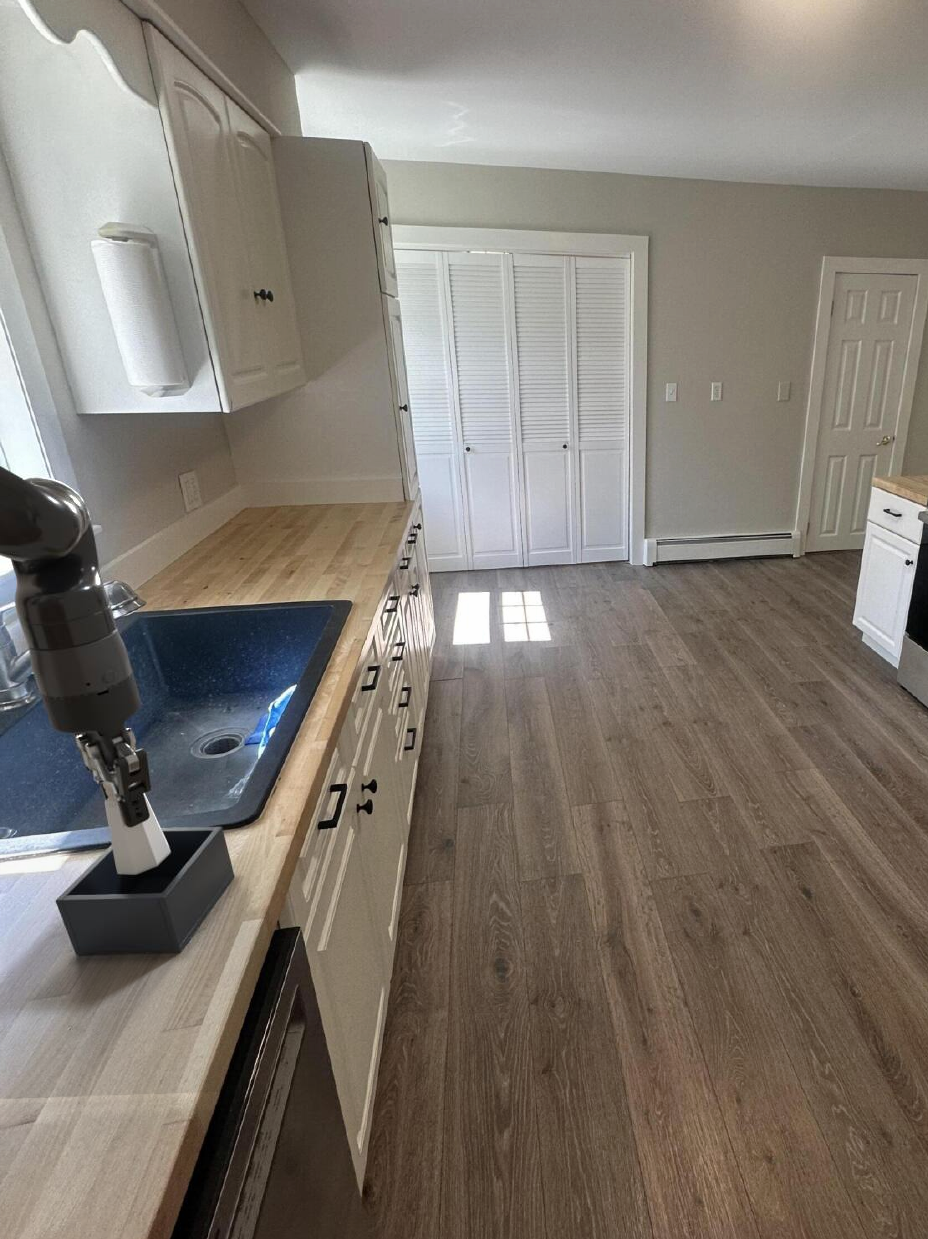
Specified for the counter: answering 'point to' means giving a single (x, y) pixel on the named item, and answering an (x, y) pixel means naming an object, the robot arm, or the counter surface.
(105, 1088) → the counter surface
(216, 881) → the bin
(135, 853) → the pepper shaker
